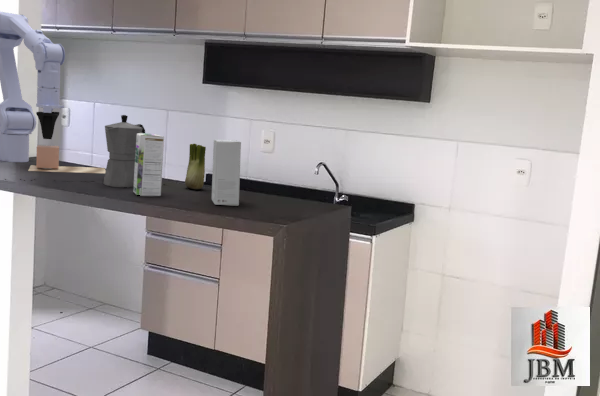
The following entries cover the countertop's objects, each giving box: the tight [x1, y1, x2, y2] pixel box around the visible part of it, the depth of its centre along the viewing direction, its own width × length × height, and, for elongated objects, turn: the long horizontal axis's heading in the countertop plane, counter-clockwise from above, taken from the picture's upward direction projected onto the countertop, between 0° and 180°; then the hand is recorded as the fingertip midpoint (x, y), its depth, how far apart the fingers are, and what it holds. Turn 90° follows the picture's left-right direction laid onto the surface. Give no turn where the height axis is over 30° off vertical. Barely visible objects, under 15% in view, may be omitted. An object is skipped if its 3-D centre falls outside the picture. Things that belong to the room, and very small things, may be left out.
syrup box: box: [132, 132, 165, 197], centre depth 148 cm, size 6×6×14 cm
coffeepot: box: [102, 114, 146, 189], centre depth 160 cm, size 15×9×18 cm, turn 159°
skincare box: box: [211, 139, 242, 207], centre depth 145 cm, size 8×6×15 cm
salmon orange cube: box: [36, 144, 60, 168], centre depth 171 cm, size 6×6×6 cm
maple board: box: [27, 164, 106, 175], centre depth 174 cm, size 20×12×1 cm, turn 110°
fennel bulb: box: [184, 143, 207, 190], centre depth 162 cm, size 6×5×12 cm
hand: (47, 138), depth 171 cm, fingers open, 5 cm apart
